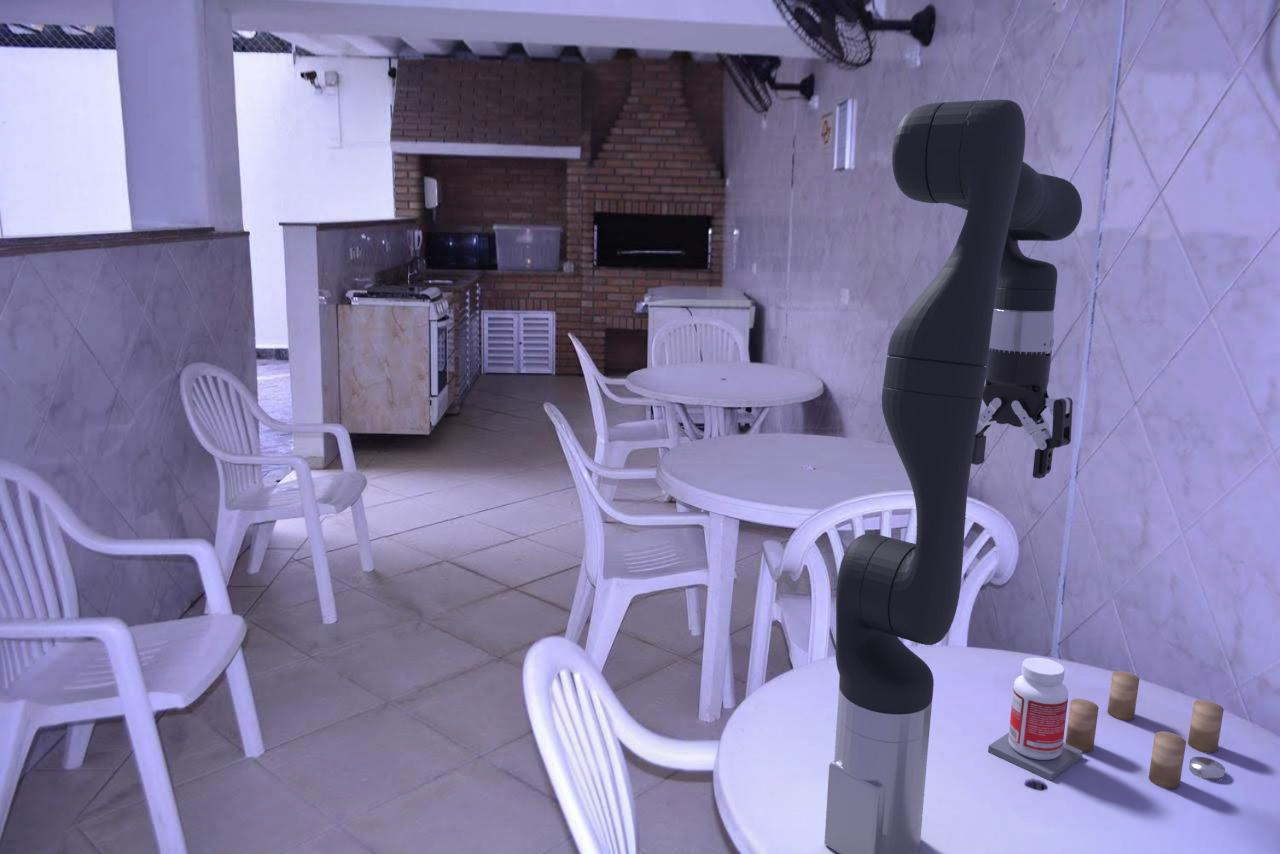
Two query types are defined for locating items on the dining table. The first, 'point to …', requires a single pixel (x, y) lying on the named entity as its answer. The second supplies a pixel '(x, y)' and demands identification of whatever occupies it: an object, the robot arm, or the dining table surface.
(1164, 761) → the cylinder
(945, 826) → the dining table surface
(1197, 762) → the shiny metal disc
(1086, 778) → the dining table surface
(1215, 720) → the cylinder
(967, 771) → the dining table surface
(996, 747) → the slate coaster
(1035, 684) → the pill bottle
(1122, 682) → the cylinder
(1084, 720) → the cylinder
